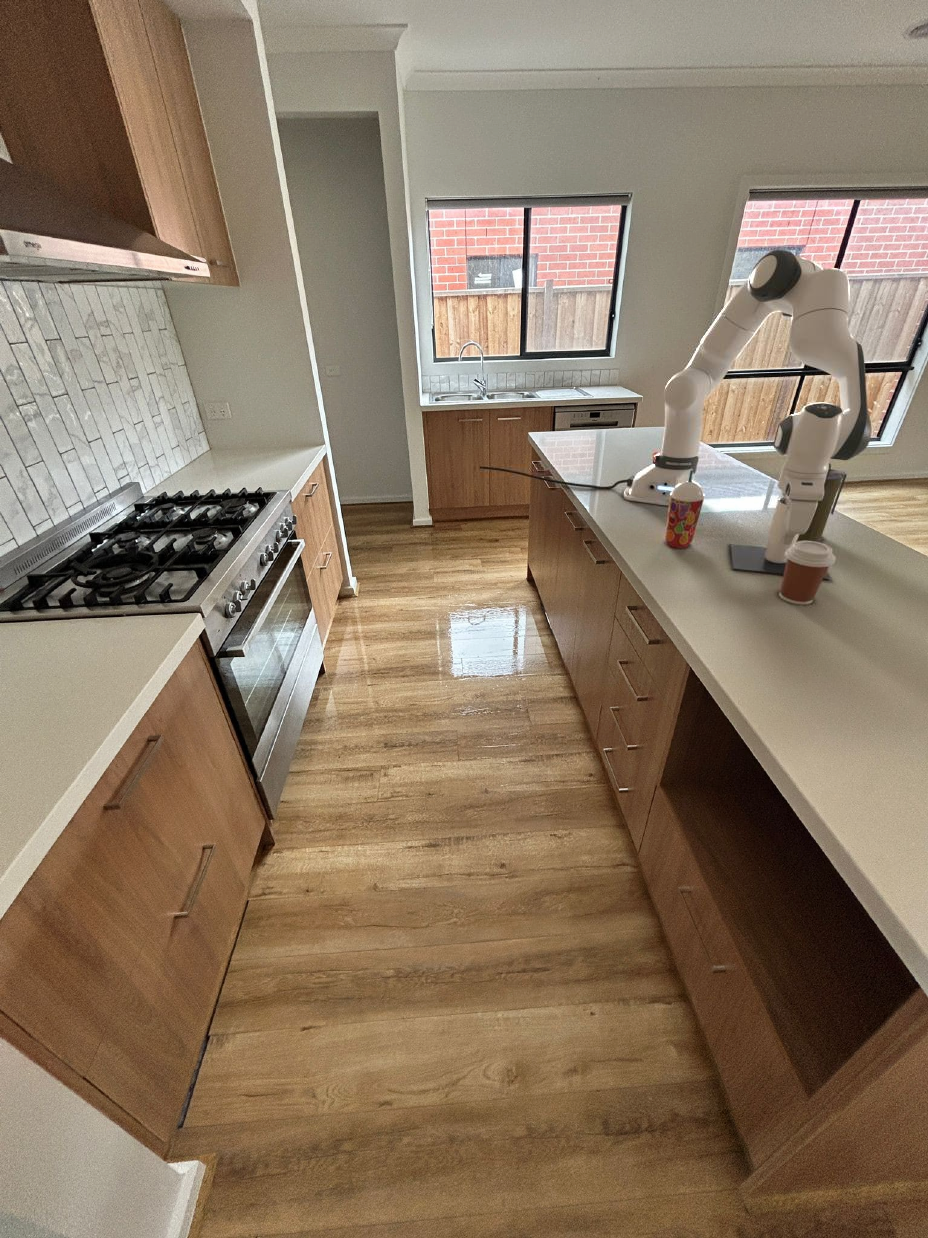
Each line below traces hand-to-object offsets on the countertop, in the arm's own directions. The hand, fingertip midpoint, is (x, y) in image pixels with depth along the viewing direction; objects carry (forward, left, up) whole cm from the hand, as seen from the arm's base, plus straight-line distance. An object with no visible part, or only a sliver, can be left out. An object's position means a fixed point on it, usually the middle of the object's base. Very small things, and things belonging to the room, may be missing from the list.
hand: (784, 537), depth 124 cm
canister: (+8, +19, -7) cm, 21 cm away
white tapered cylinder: (0, 0, -6) cm, 6 cm away
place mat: (0, 0, -7) cm, 7 cm away
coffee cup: (+2, -18, -7) cm, 19 cm away
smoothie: (-23, +5, -7) cm, 25 cm away
